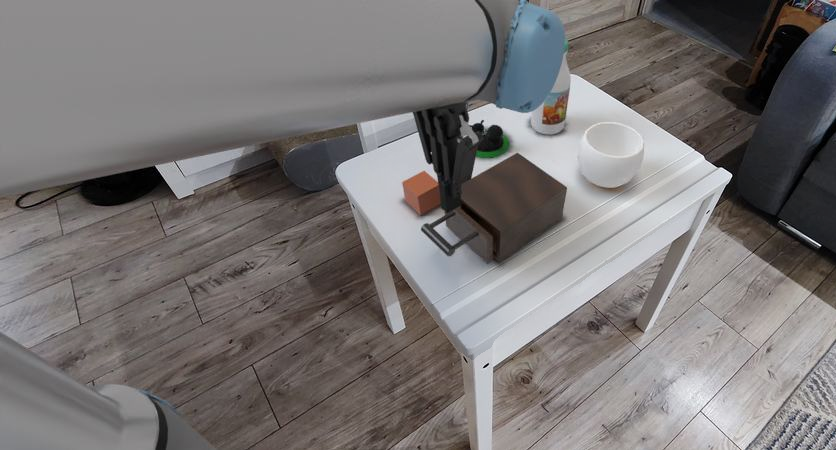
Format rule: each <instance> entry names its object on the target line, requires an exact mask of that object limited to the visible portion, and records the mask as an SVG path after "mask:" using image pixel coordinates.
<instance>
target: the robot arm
mask: <svg viewBox="0 0 836 450" xmlns="http://www.w3.org/2000/svg"><path fill="white" fill-rule="evenodd" d="M565 39H566V33H565V28H564V25H563V21H562V19H561V18H560V17H559V14H557V13H556V12H554V11H553V10H550V9H548V8H545V7H542V6H539V5H536V4H533V3H530V2H528V0H0V199H1V198H7V197H10V196H15V195H20V194H21V195H22V194H25V193H30V192H35V191H39V190H44V189H48V188H54V187H59V186H64V185H69V184H74V183H77V182H83V181H87V180H93V179H96V178H102V177H107V176H112V175H116V174H122V173H126V172H132V171H136V170H140V169H146V168H150V167H151V168H152V167H154V166H155V167H156V166H160V165H165V164H170V163H174V162H179V161H184V160H188V159H193V158H199V157H204V156H209V155H212V154H218V153H222V152H228V151H233V150H237V149H241V148H247V147H252V146H256V145H261V144H266V143H271V142H275V141H276V142H277V141H281V140H285V139H290V138H295V137H300V136H304V135H308V134H314V133H319V132H320V133H321V132H324V131H329V130H333V129H339V128H343V127H348V126H353V125H358V124H362V123H368V122H372V121H373V122H374V121H377V120H383V119H386V118H392V117H396V116H401V115H407V114H411V113H412V115H413V119H414V122H415V126H416V129H417V133H418V137H419V140H420V144H421V147H422V148H421V149H422V151H423V155H424V158H425V159H424V160H425V161H426V163H427V164H428V165H432V167H433V171H434V173H435V174H436V177H437V182H438V185H439V191H440V200H441V204H440V208H441V210H442V211H444V213H445V212H446V213H449V212H451V211H452V210H454V209H456V208H458V207H459V206H461V194H462V189H461V184H463V183H465V182H467V181H468V180H470V179H472V178H473V172H474V167H475V162H476V157H477V156H476V153H477V148H478V145H479V144H480V142H481V141H482V140H483V135H482V133H481V132H480V131H477V132H475V133H474V132H473V130H472V129H471V128H472V127H470V126H469V125H470V124H469V122H470V115H469V111H468V109H467V104H468V103H469V102H475V101H484V102H487V103H490V104H492V105H495V106H496V108H498V109H506V110H509V111H514V112H517V113H520V114H529V113H532V111H534V110H536V109H537V108H538V107H539V106H540V105H541V104H542V103H543V102H544V101H545V100H546V98H547V97H548V95H549V94H550V92H551V90H552V88H553V86H554V84H555V82H556V79H557V77H558V74H559V71H560V67H561V64H562V59H563V55H564V48H565ZM0 450H218V448H216V447H215V446H214V445H213V444H212V443H211V442H210V441H208V440H207V439H206V438H205V437H204V436H202V435H201V433H199V432H198V431H197V430H196V429H194V427H192V426H191V425H190V424H189V423H188V422H187V421H185V420H184V419H183V418H182V417H181V416H180V413H179V412H178V411H177V410H176V408H175V407H173V406H172V405H171V404H170V403H169V402H168V401H166V400H164V399H163V398H161V397H159V396H157V395H154V394H152V393H150V392H148V391H146V390H144V389H140V388H137V387H132V386H128V385H124V384H118V383H107V384H106V383H105V384H104V383H103V384H98V385H92V386H89V385H87V384H86V383H84V382H82V381H81V380H79V379H77V378H76V377H74V376H73V375H71V374H70V373H68V372H66V371H65V370H63V369H61V368H60V367H59V366H56V365H55V364H53V362H52V363H51V362H50V361H48V360H47V359H45V358H44V357H42V356H41V355H39V354H37V353H36V352H34V351H33V350H31V349H29V348H28V347H26V346H24V345H23V344H21V343H19V342H18V341H16V340H15V339H13V338H11V337H10V336H8V335H7V334H5V333H3V332H2V331H0Z"/></svg>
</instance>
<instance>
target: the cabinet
mask: <svg viewBox="0 0 836 450" xmlns="http://www.w3.org/2000/svg"><path fill="white" fill-rule="evenodd" d="M461 189H462V194H461V201H462V202H463V203H464V204H465V205H466V206H467V207H469V208H470V209H471V210H472V211H473V212H474V213H476V214H477V215H478V216H479V217H480V218H482V219H483V220H484V221H485V222H486V223H487V224H489V225H490V226H491V227H492V228H493V229H494V230H496V231H497V253H495V252H494V251H493V259H494V260H496V261H497V262H498V263H499V264H500V263H502V262H503V261H504V260H506V259H507V258H509V257H510V256H512V255H513V254H515V253H516V252H517V251H519V250H520V249H521V248H523V247H524V246H526V245H528V244H529V243H530V242H531V241H533V240H534V239H536V238H537V237H539V236H540V235H541V234H543V233H544V232H546V231H547V230H549V229H550V228H551V227H553V226H554V225H555V224H557V223H558V222H561V221H562V220H563V215H564V209H565V203H566V197H567V192H568V186H566V185H564V184H563V183H561V182H560V181H559V180H558V179H556V178H555V177H553V176H552V175H551V174H549V173H547V172H546V171H545V170H543V169H542V168H540V167H539V166H538V165H536V164H534V163H533V162H532V161H530V160H529V159H528V158H526V157H525V156H523V155H522V154H521V153H519V152H516V153H514V154H512V155H510V156H508V157H507V158H505V159H503V160H502V161H500V162H498V163H496V164H494V165H493V166H491V167H488V169H486V170H484V171H482V172H480V173H478V174H477V175H475V176H472V178H471V179H470V180H468V181H467V182H465V183H463V184H461Z"/></svg>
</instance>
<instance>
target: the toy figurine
mask: <svg viewBox="0 0 836 450" xmlns="http://www.w3.org/2000/svg"><path fill="white" fill-rule="evenodd" d="M484 122H485V119H481V121H480V122H476V123H474V124H469V126H470V127H471V129H472V130H473V132H474V133H475V132H477V131H480V132H481V133H482V135H483V140H482V141H481V142H480V144H479V145H478V148H477V153H476V157H477V158H483V159H491V158H496V157H499V156H501V155H503V154H505V153H506V152H507V151H508V149H509V147H510V141H509V139H508V137H507V136H506V135H505V134H504V129H503V128H502V127H501V126H500V125H498V124H492V125H490V126H489V127H488V128H487V129H485V126H484V124H483V123H484Z"/></svg>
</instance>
